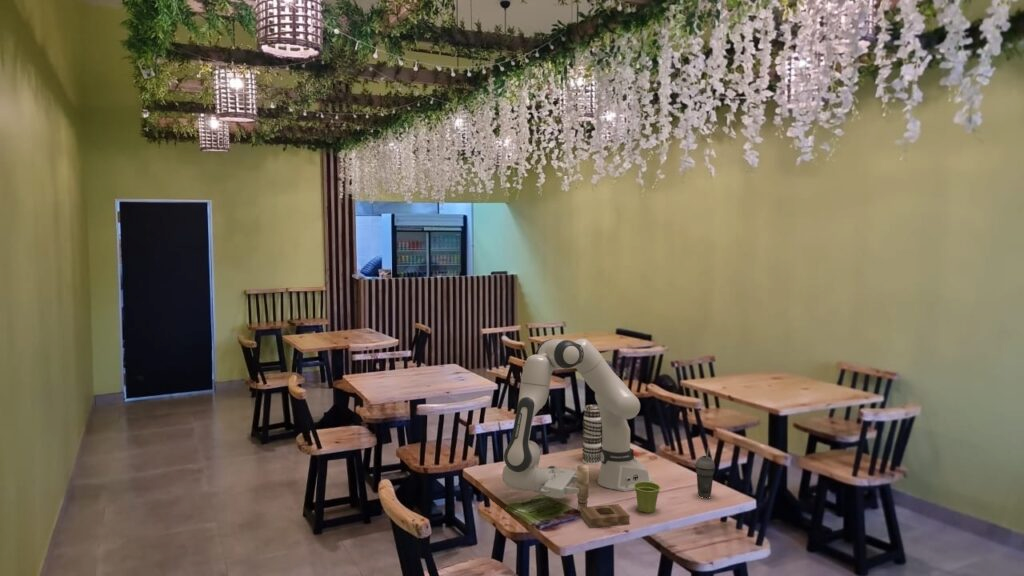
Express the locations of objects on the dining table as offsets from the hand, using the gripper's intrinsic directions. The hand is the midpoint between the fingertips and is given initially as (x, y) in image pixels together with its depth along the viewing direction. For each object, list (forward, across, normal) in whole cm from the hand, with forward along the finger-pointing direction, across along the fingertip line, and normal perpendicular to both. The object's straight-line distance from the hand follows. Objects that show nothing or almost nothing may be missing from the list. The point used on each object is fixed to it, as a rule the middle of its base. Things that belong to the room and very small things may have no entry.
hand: (582, 486), depth 228 cm
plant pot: (+22, +9, +9) cm, 25 cm away
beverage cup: (+40, +30, +9) cm, 51 cm away
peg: (0, 0, +9) cm, 9 cm away
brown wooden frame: (+9, -5, +9) cm, 14 cm away
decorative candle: (-9, +54, +9) cm, 55 cm away
